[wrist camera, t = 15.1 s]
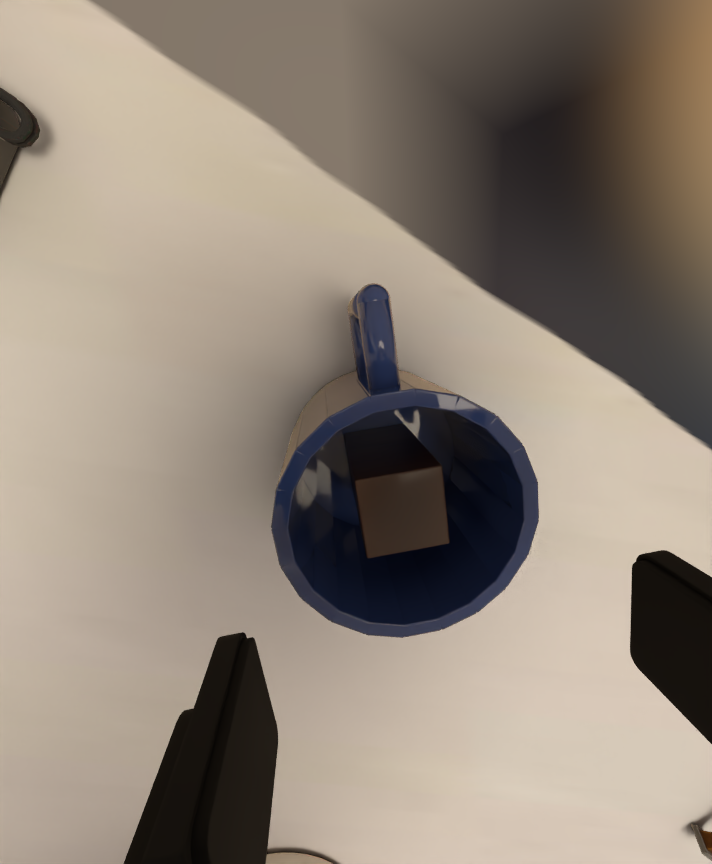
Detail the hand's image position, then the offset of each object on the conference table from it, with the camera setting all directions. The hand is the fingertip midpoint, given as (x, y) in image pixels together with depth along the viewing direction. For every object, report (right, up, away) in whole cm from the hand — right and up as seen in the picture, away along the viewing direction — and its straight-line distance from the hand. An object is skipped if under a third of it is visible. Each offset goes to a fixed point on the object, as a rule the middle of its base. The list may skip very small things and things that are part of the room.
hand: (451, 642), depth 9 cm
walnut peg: (-1, +4, +12) cm, 13 cm away
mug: (-1, +6, +13) cm, 14 cm away
